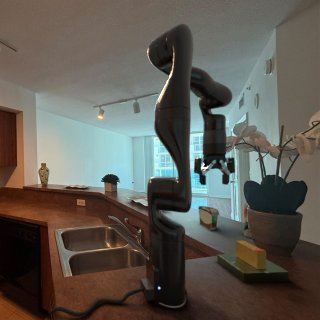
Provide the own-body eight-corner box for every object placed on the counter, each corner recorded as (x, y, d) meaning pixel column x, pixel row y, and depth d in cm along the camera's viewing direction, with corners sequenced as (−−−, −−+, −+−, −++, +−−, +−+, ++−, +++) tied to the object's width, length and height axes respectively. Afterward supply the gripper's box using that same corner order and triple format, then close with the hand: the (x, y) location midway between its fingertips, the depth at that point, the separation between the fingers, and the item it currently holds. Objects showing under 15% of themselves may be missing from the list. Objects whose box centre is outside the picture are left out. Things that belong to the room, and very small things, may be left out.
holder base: (245, 284, 58) (245, 273, 58) (216, 261, 70) (216, 253, 70) (290, 282, 58) (291, 272, 58) (253, 260, 71) (253, 252, 70)
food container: (225, 232, 96) (225, 212, 96) (212, 232, 97) (212, 212, 96) (209, 223, 109) (209, 205, 108) (198, 223, 109) (198, 205, 109)
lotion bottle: (243, 233, 95) (243, 192, 94) (259, 235, 91) (259, 193, 91) (243, 236, 91) (244, 194, 90) (260, 240, 87) (260, 195, 86)
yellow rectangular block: (235, 256, 68) (236, 239, 68) (243, 255, 68) (243, 239, 68) (257, 269, 60) (257, 251, 60) (266, 269, 60) (266, 251, 60)
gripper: (225, 142, 78) (225, 182, 78) (190, 143, 78) (190, 183, 78) (240, 141, 70) (240, 185, 71) (202, 142, 70) (202, 186, 70)
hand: (214, 184), depth 74 cm, fingers open, 8 cm apart
